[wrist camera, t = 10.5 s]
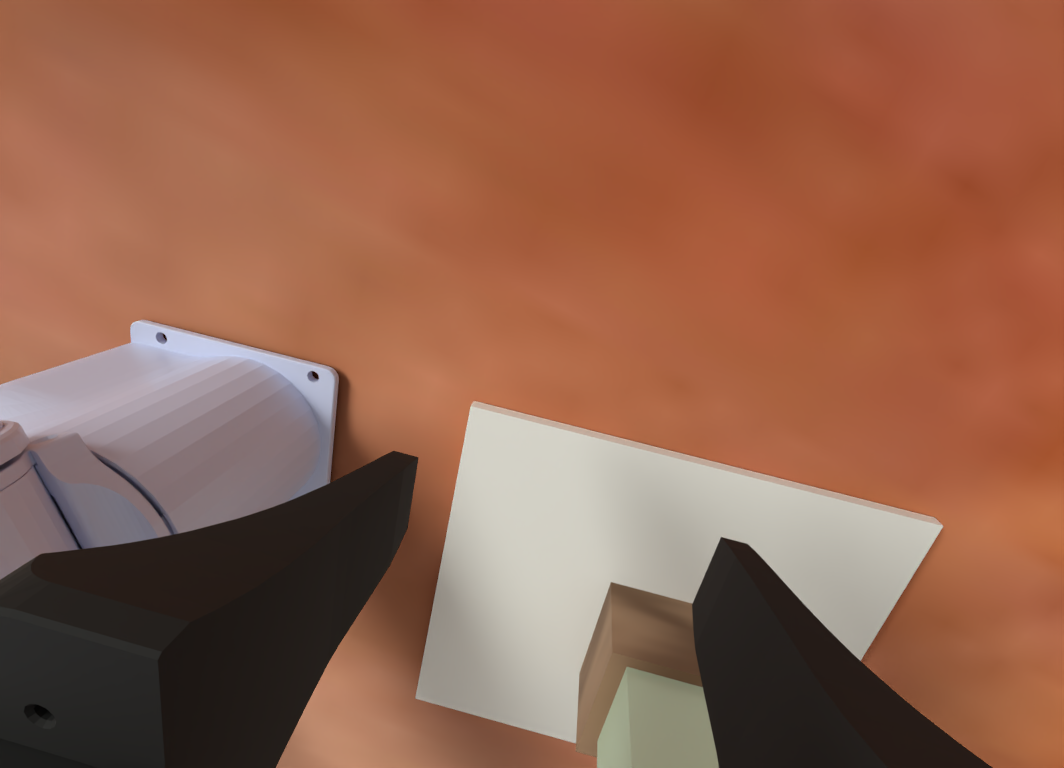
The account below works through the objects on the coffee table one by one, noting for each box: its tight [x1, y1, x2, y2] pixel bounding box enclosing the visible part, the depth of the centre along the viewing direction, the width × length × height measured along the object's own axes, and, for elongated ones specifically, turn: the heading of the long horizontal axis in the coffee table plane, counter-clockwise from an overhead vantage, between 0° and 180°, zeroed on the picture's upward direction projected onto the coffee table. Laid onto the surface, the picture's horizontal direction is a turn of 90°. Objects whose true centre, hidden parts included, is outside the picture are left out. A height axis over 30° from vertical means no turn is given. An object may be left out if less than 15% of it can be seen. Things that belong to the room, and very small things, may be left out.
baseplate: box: [415, 401, 943, 743], centre depth 25 cm, size 20×18×1 cm
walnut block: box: [576, 582, 703, 757], centre depth 23 cm, size 6×6×4 cm
